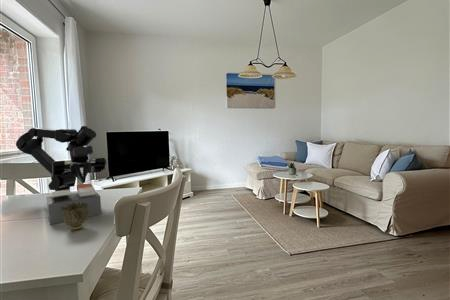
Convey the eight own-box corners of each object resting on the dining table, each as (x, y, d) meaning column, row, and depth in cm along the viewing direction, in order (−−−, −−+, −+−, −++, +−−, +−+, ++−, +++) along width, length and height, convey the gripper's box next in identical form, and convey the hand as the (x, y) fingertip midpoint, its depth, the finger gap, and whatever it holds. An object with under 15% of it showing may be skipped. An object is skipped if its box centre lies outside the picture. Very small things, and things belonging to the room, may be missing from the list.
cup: (77, 235, 75) (75, 209, 74) (56, 233, 76) (55, 208, 75) (95, 225, 82) (93, 202, 81) (76, 224, 83) (74, 201, 83)
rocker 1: (51, 197, 90) (51, 191, 91) (67, 194, 94) (67, 189, 94) (53, 198, 84) (52, 192, 84) (70, 195, 87) (69, 189, 87)
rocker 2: (76, 189, 95) (76, 185, 95) (91, 187, 98) (91, 183, 98) (80, 197, 89) (79, 192, 89) (95, 195, 92) (95, 190, 92)
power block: (47, 215, 93) (46, 196, 93) (94, 206, 103) (93, 189, 102) (49, 224, 84) (48, 203, 83) (101, 213, 93) (100, 195, 93)
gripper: (50, 140, 94) (55, 172, 86) (103, 138, 105) (112, 167, 98) (50, 159, 101) (55, 190, 93) (100, 155, 112) (108, 183, 105)
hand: (83, 182), depth 97 cm, fingers closed
